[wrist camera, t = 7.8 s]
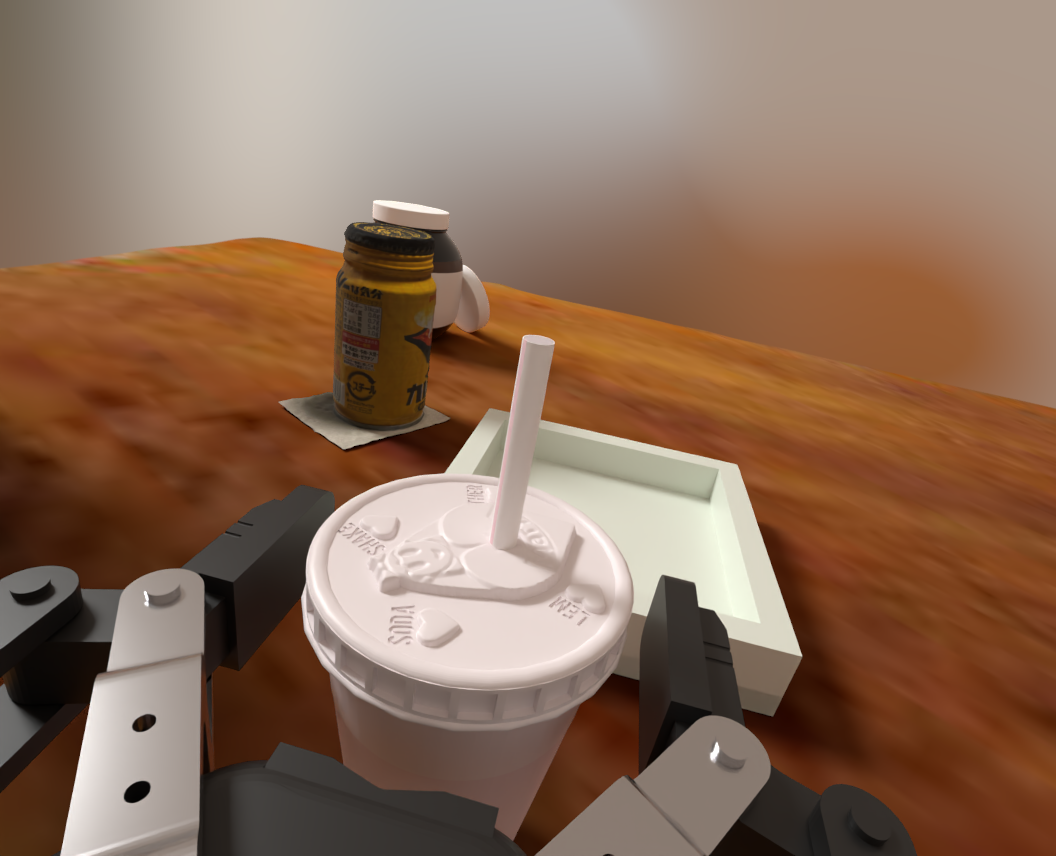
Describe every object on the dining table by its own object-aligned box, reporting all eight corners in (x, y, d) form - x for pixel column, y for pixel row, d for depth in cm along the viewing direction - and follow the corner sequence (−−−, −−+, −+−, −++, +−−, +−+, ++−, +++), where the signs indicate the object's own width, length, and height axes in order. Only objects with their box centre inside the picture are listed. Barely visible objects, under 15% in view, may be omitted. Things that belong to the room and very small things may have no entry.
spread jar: (335, 325, 55) (338, 195, 50) (403, 308, 64) (411, 198, 59) (443, 358, 51) (458, 222, 46) (498, 335, 61) (514, 220, 56)
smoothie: (597, 910, 14) (794, 406, 9) (337, 1084, 11) (377, 451, 5) (484, 707, 19) (562, 296, 13) (280, 786, 16) (266, 283, 10)
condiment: (450, 421, 39) (472, 242, 34) (343, 452, 33) (351, 239, 28) (385, 384, 43) (396, 219, 38) (278, 406, 37) (275, 212, 32)
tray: (386, 611, 22) (391, 549, 21) (483, 451, 36) (489, 408, 35) (772, 716, 21) (802, 656, 20) (721, 507, 34) (737, 464, 33)
